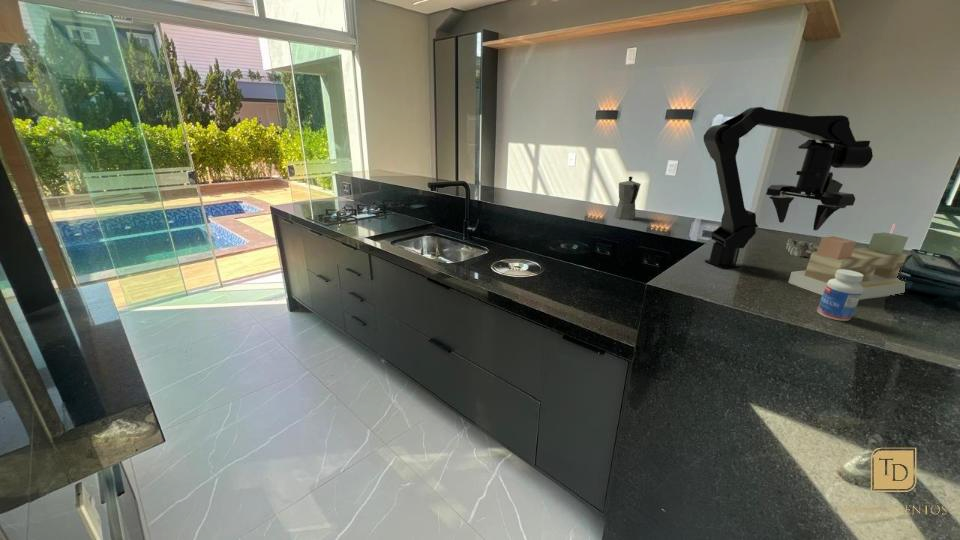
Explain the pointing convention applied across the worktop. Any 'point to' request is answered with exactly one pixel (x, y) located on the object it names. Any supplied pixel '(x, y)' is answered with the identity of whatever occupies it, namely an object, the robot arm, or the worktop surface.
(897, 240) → the pale green cube
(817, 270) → the brown long block
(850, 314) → the pill bottle
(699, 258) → the worktop surface
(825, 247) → the salmon pink cube
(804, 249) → the egg carton
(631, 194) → the coffeepot
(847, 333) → the worktop surface
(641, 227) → the worktop surface
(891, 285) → the dock
